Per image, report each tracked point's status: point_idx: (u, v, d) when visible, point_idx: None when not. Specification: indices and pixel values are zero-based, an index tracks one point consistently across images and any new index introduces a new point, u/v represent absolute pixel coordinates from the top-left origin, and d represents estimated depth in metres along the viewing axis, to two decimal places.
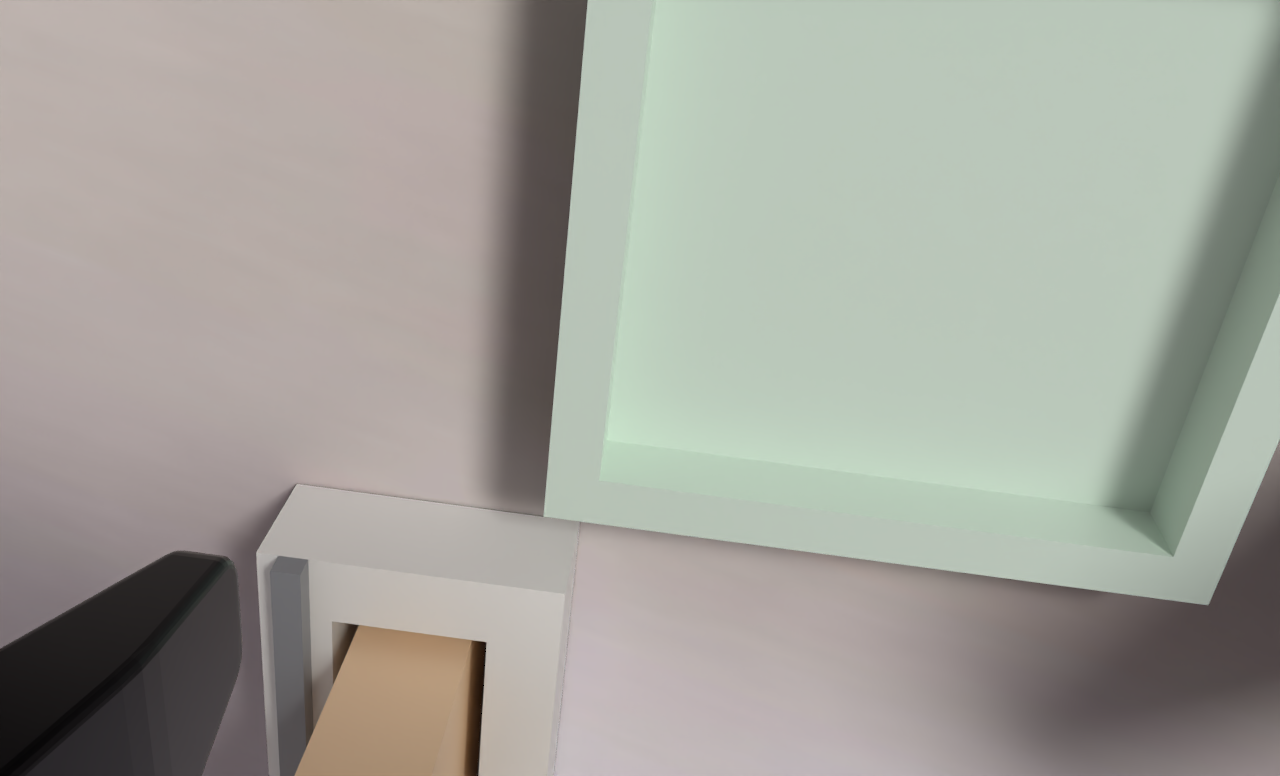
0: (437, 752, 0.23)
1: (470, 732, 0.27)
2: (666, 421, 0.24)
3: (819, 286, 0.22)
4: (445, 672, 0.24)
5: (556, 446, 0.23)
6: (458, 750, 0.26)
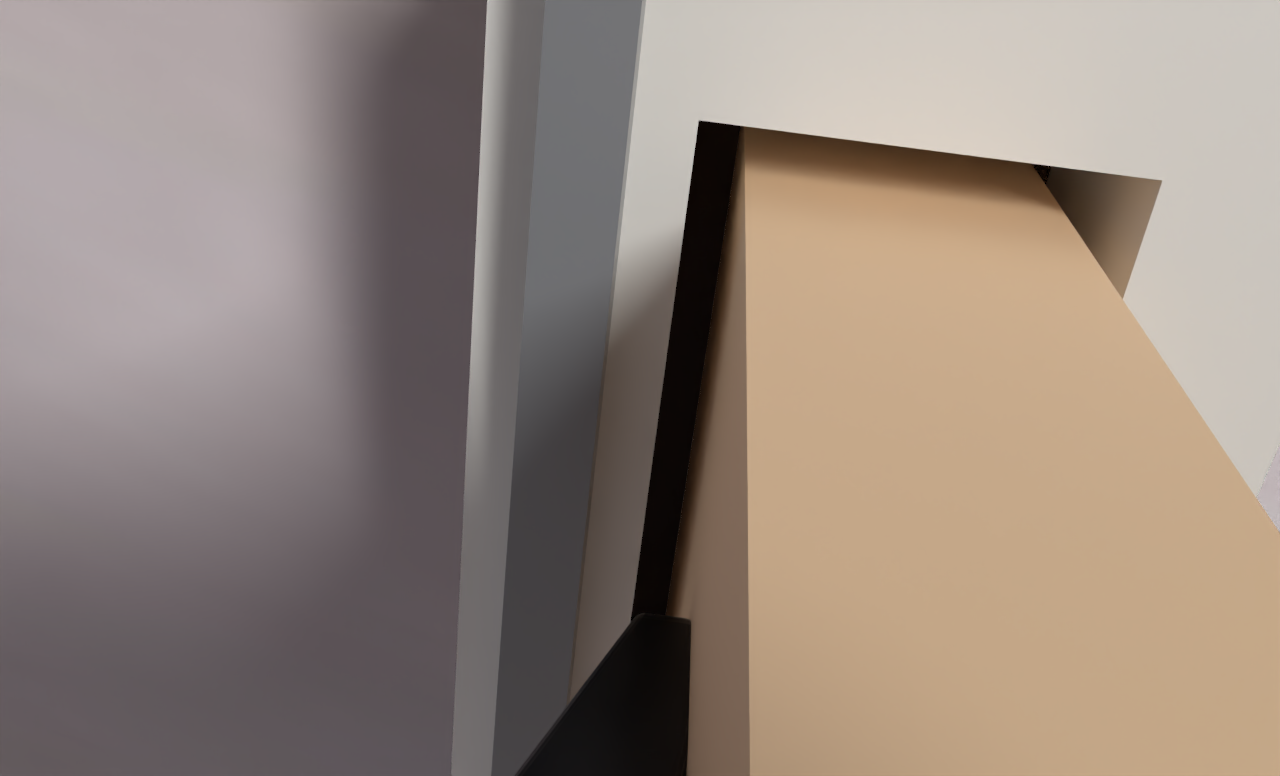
0: (1208, 430, 0.06)
1: None
2: None
3: None
4: (1056, 263, 0.08)
5: None
6: None
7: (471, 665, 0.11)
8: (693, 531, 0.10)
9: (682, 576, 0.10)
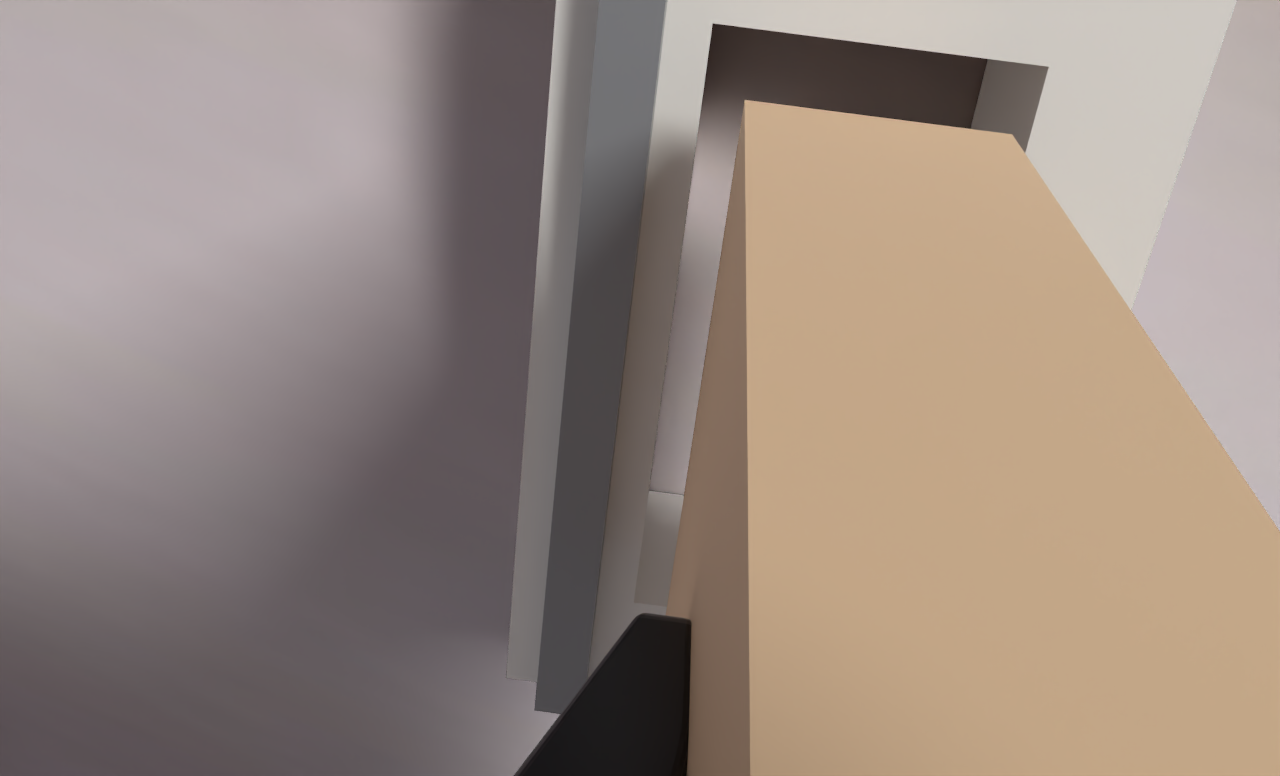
0: (1207, 429, 0.06)
1: None
2: None
3: None
4: (1055, 262, 0.08)
5: None
6: None
7: (534, 463, 0.14)
8: (693, 530, 0.10)
9: (682, 575, 0.11)
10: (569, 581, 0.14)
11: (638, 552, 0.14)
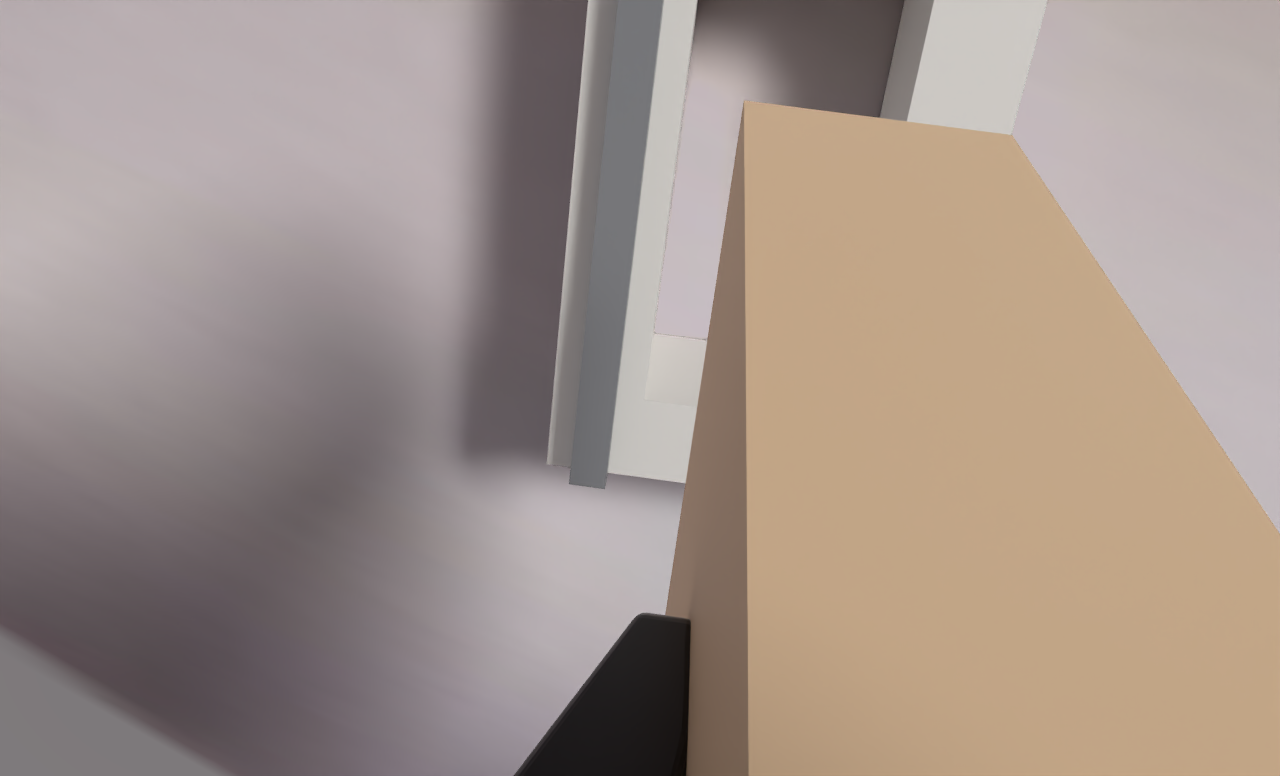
0: (1207, 430, 0.06)
1: None
2: None
3: None
4: (1054, 263, 0.08)
5: None
6: None
7: (571, 288, 0.19)
8: (693, 531, 0.10)
9: (682, 576, 0.10)
10: (597, 376, 0.19)
11: (648, 358, 0.19)
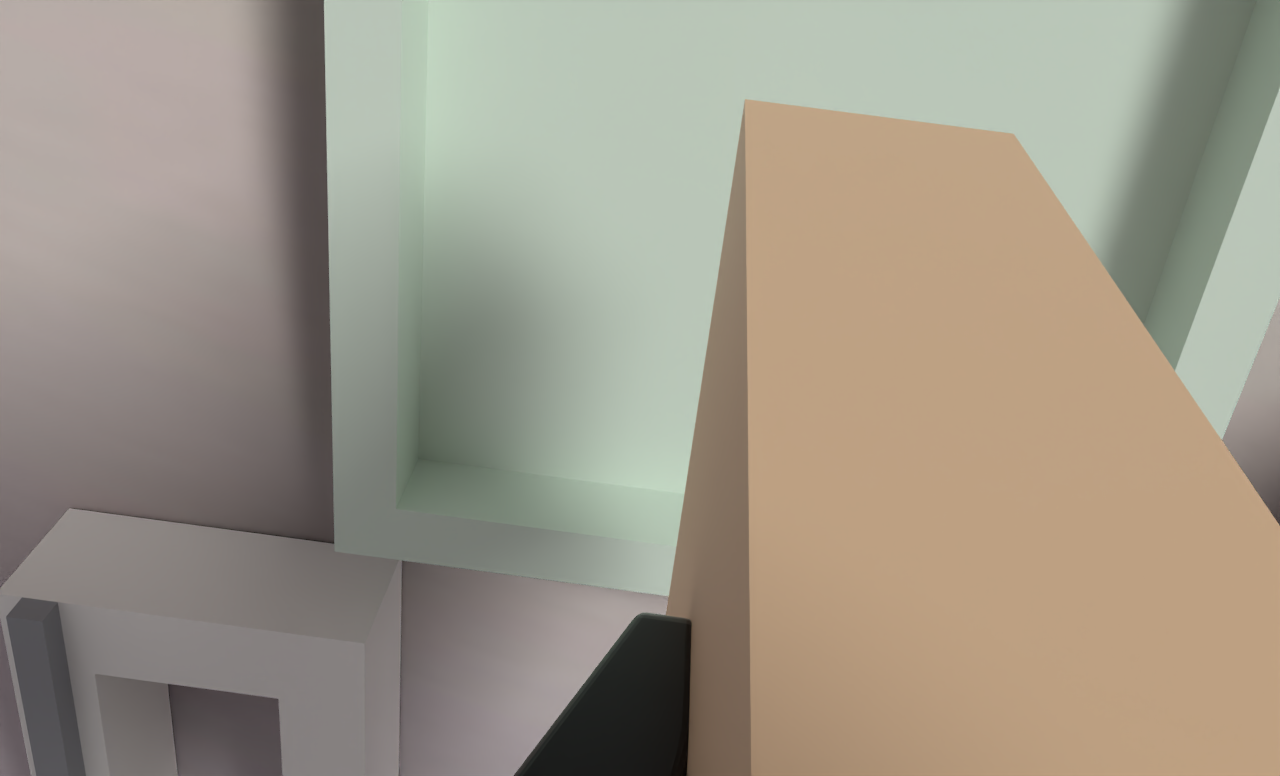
0: (1211, 430, 0.06)
1: None
2: (486, 436, 0.20)
3: (656, 274, 0.18)
4: (1058, 263, 0.08)
5: (341, 468, 0.19)
6: None
7: None
8: (693, 532, 0.10)
9: (682, 577, 0.10)
10: None
11: None
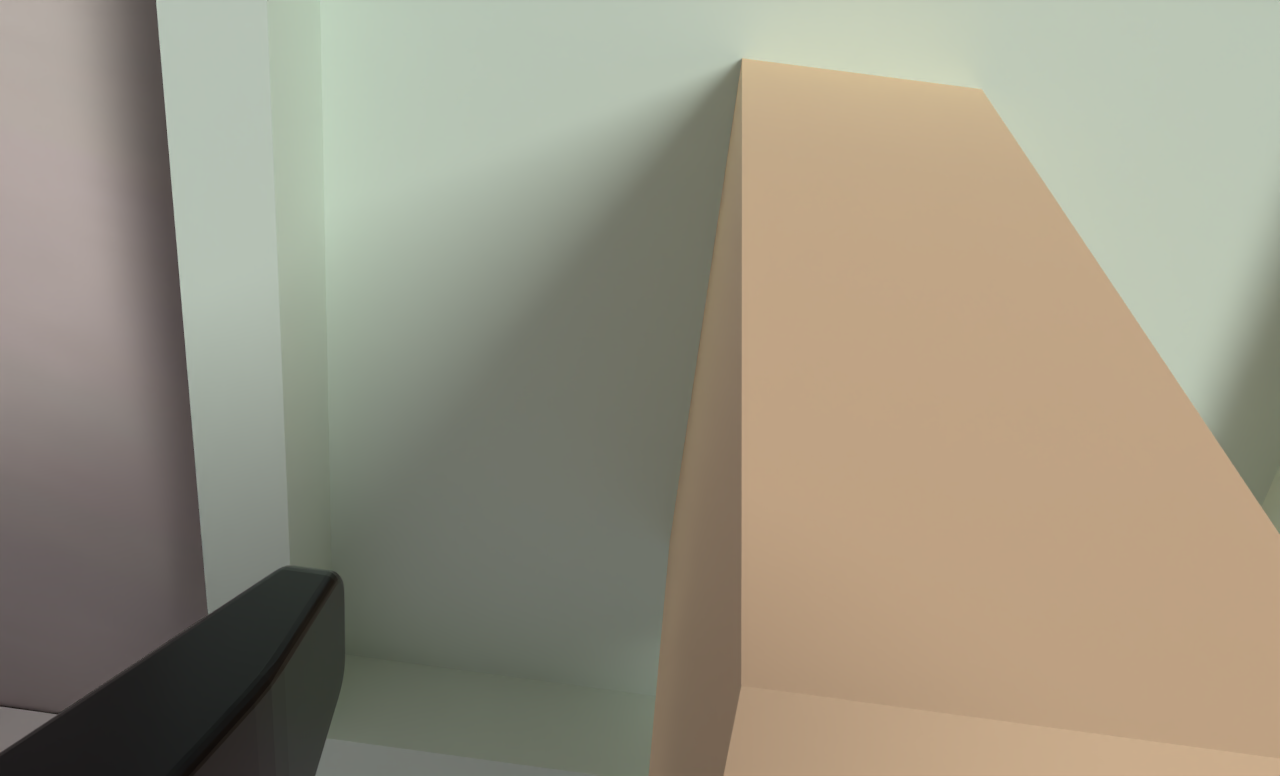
0: (1124, 307, 0.07)
1: None
2: (417, 627, 0.16)
3: (630, 440, 0.14)
4: (1010, 187, 0.09)
5: None
6: None
7: None
8: (696, 435, 0.11)
9: (686, 482, 0.12)
10: None
11: None
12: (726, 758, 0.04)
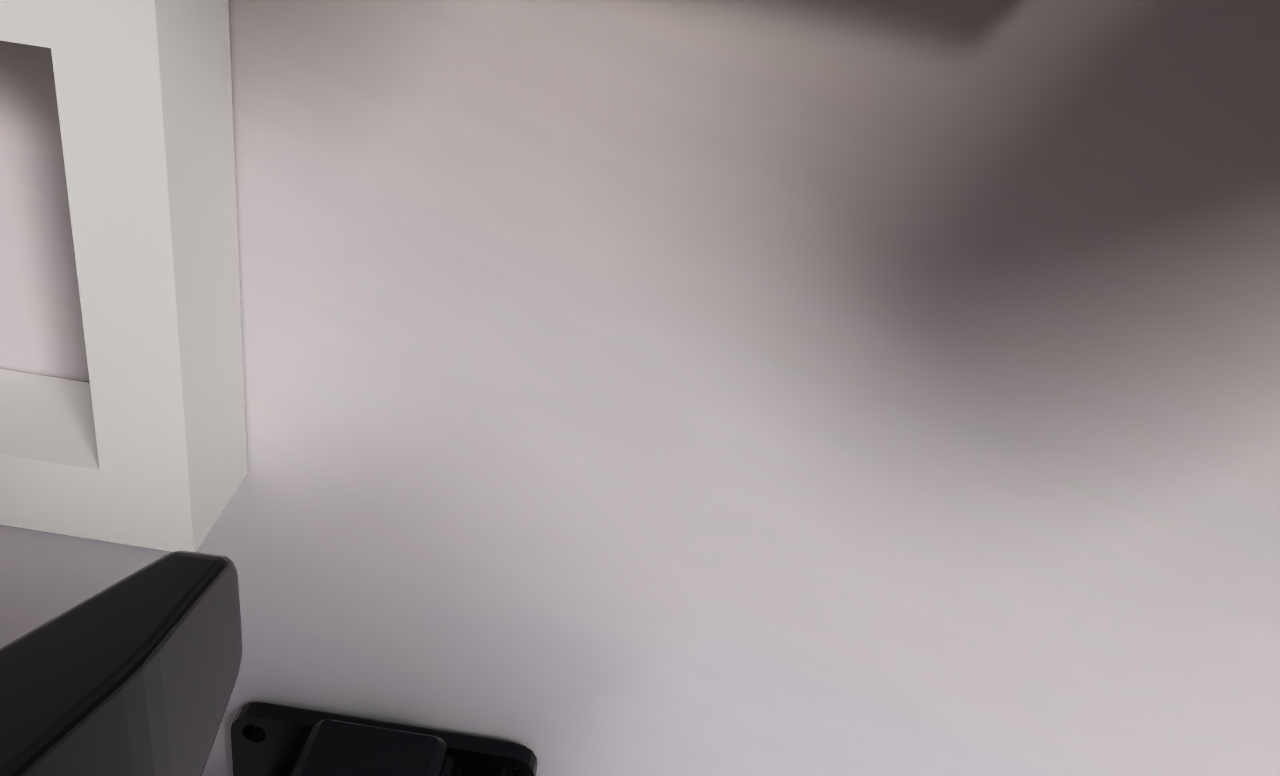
0: None
1: None
2: None
3: None
4: None
5: None
6: None
7: None
8: None
9: None
10: None
11: None
12: None
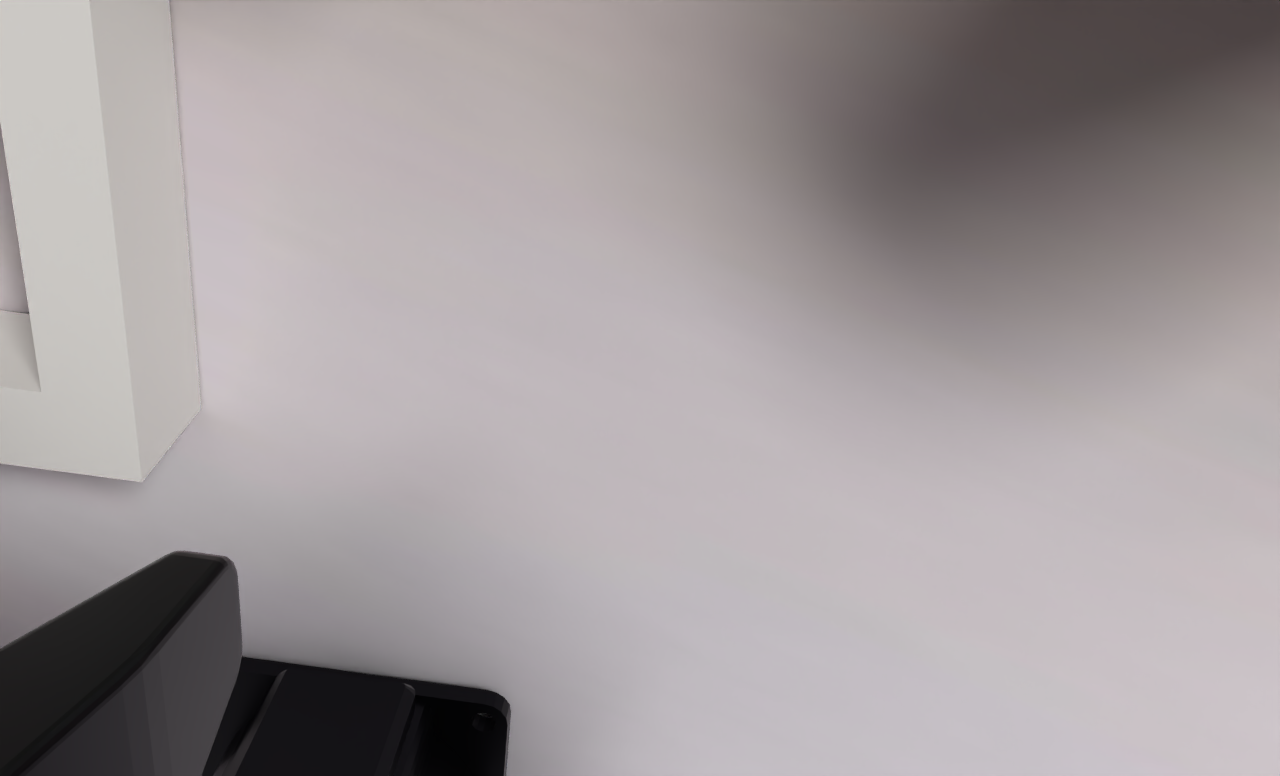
0: None
1: None
2: None
3: None
4: None
5: None
6: None
7: None
8: None
9: None
10: None
11: None
12: None
